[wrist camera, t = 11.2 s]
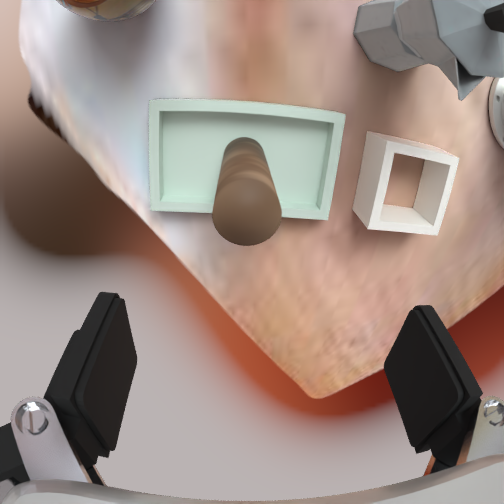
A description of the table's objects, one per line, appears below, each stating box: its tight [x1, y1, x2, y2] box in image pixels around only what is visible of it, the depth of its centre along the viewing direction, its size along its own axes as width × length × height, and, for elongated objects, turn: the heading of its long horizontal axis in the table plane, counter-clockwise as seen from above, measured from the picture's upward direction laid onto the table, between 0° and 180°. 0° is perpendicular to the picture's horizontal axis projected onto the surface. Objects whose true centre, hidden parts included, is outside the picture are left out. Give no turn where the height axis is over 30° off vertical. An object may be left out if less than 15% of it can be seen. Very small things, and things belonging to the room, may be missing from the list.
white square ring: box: [352, 131, 459, 235], centre depth 31 cm, size 9×9×5 cm
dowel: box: [212, 137, 282, 246], centre depth 24 cm, size 4×4×14 cm
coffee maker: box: [353, 0, 504, 101], centre depth 16 cm, size 15×9×18 cm, turn 169°
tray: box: [149, 99, 346, 220], centre depth 30 cm, size 18×11×2 cm, turn 85°
